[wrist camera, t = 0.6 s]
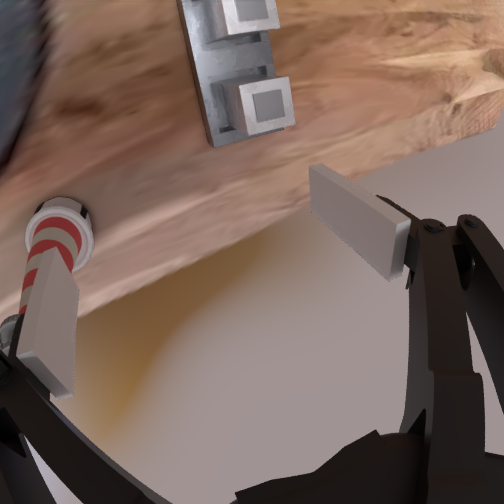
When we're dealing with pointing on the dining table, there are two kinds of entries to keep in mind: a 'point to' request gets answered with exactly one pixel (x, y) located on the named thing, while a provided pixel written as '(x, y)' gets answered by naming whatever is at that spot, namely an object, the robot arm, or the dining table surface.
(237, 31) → the grey square peg
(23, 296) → the miniature lighthouse
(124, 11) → the dining table surface
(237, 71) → the rail
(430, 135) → the dining table surface
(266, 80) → the silver square post
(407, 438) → the robot arm
